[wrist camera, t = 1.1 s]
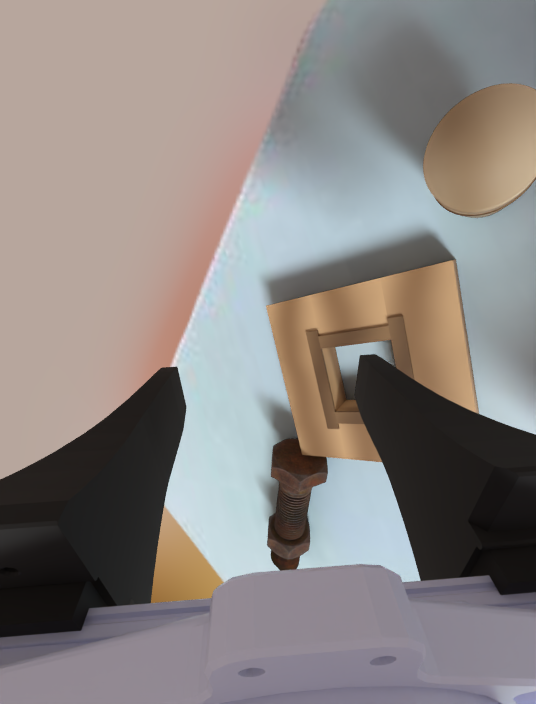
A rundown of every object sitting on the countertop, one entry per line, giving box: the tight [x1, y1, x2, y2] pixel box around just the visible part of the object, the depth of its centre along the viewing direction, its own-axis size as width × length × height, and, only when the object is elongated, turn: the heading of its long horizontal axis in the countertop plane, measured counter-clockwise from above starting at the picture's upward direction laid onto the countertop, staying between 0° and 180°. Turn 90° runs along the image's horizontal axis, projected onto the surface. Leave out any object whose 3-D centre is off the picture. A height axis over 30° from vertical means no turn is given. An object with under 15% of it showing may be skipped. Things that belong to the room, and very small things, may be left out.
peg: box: [423, 83, 536, 218], centre depth 16 cm, size 4×4×8 cm
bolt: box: [267, 438, 328, 571], centre depth 33 cm, size 6×5×15 cm
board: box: [266, 259, 479, 462], centre depth 25 cm, size 14×14×3 cm
